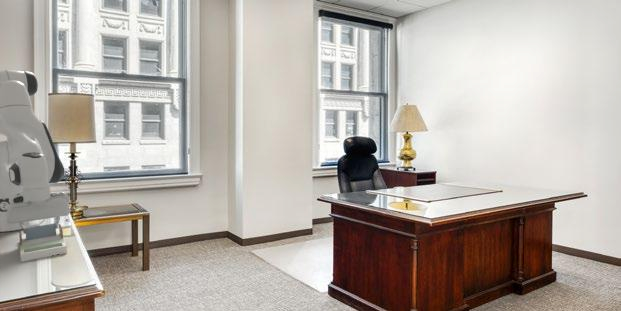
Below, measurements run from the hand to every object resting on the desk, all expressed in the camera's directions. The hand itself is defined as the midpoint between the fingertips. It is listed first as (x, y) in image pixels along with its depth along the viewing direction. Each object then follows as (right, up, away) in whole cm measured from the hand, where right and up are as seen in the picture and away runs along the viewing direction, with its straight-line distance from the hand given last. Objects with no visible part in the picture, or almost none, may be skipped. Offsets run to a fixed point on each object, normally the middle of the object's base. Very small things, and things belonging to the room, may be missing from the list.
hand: (40, 230), depth 159 cm
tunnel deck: (+5, -5, -6) cm, 9 cm away
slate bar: (+2, -2, -2) cm, 3 cm away
